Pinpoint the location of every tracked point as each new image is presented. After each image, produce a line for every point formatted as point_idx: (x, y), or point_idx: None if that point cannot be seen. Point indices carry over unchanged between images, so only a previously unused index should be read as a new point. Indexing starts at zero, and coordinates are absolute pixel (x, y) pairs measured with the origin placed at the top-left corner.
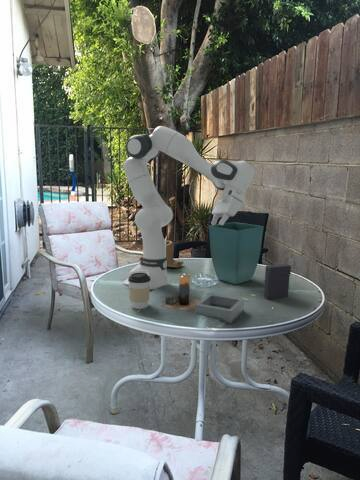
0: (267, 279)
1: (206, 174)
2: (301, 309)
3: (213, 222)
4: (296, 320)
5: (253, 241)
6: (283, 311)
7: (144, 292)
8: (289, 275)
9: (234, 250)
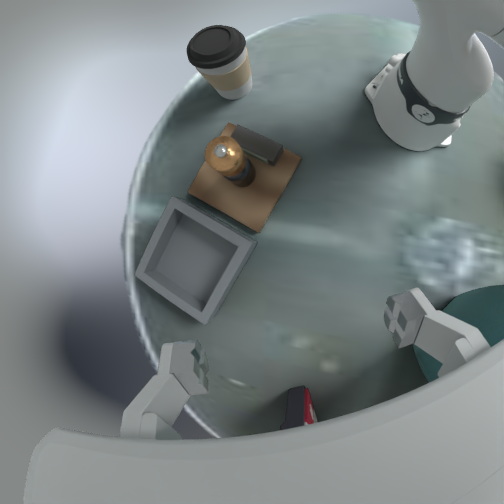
0: (290, 416)
1: None
2: (228, 425)
3: (395, 312)
4: None
5: None
6: (216, 393)
7: (201, 74)
8: None
9: None
